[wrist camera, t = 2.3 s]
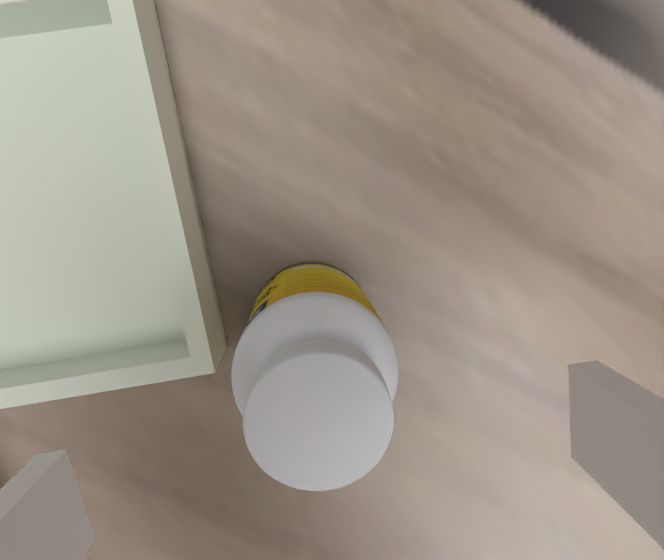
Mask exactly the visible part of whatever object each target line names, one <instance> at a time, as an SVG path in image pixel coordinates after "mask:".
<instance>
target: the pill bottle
mask: <svg viewBox="0 0 664 560" xmlns="http://www.w3.org/2000/svg"><path fill="white" fill-rule="evenodd" d="M398 376H399V367H398V359H397V354H396V350H395V347H394V344H393V342H392V339H391V337H390V335H389V333H388V331H387V330H386V328H385V326H384V325H383V323H382V321H381V320H380V318H379V316H378V315H377V313H376V311H375V310H374V308H373V307H372V305H371V303H370V302H369V300H368V299H367V297H366V296H365V294H364V293H363V291H362V290H361V288H360V286H359V285H358V284H357V283H356V282H355V281H354V279H353V278H351V277H350V276H349V275H348V274H346V273H345V272H343V271H342V270H340V269H338V268H336V267H334V266H331V265H328V264H324V263H316V262H308V263H300V264H296V265H293V266H290V267H288V268H285V269H283V270H282V271H280V272H279V273H277V274H276V275H275V276H274V277H272V278H271V279H270V280H269V281H268V282H267V283H266V284H265V286H264V287H263V289H262V290H261V291H260V293H259V295H258V297H257V300H256V302H255V305H254V307H253V309H252V312H251V314H250V317H249V319H248V321H247V324H246V326H245V328H244V330H243V332H242V335H241V337H240V339H239V342H238V344H237V347H236V350H235V353H234V357H233V362H232V369H231V382H232V390H233V395H234V398H235V401H236V404H237V407H238V409H239V411H240V413H241V415H242V416H243V433H244V438H245V442H246V445H247V448H248V450H249V452H250V454H251V456H252V457H253V459H254V460H255V462H256V463H257V464H258V465H259V467H260V468H261V469H262V470H263V471H264V472H266V473H267V474H268V475H269V476H271V477H272V478H273V479H275V480H277V481H278V482H280V483H282V484H285V485H287V486H290V487H293V488H296V489H300V490H307V491H325V490H332V489H336V488H340V487H343V486H346V485H348V484H351V483H353V482H355V481H356V480H358V479H360V478H361V477H363V476H364V475H366V474H367V473H368V472H369V471H371V470H372V469H373V468H374V467H375V465H376V464H377V463H378V462H379V461H380V459H381V458H382V457H383V455H384V454H385V452H386V450H387V448H388V446H389V444H390V440H391V437H392V433H393V429H394V409H393V404H392V403H393V400H394V397H395V394H396V390H397V386H398Z"/></svg>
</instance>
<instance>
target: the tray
mask: <svg viewBox="0 0 664 560" xmlns="http://www.w3.org/2000/svg"><path fill="white" fill-rule="evenodd" d="M227 348H228V346H227V341H226V336H225V332H224V327H223V322H222V318H221V313H220V308H219V303H218V299H217V294H216V289H215V285H214V280H213V275H212V270H211V266H210V261H209V256H208V252H207V247H206V242H205V237H204V233H203V228H202V223H201V219H200V214H199V209H198V204H197V200H196V195H195V190H194V186H193V181H192V176H191V171H190V167H189V162H188V157H187V153H186V148H185V143H184V138H183V134H182V129H181V124H180V120H179V115H178V110H177V105H176V101H175V96H174V91H173V87H172V82H171V77H170V72H169V68H168V63H167V58H166V54H165V49H164V44H163V39H162V35H161V30H160V25H159V21H158V16H157V11H156V6H155V2H154V0H0V409H4V408H10V407H16V406H22V405H28V404H34V403H40V402H46V401H52V400H58V399H63V398H69V397H75V396H81V395H87V394H93V393H99V392H105V391H111V390H117V389H123V388H129V387H135V386H141V385H147V384H153V383H159V382H165V381H171V380H177V379H183V378H189V377H194V376H200V375H206V374H212V373H215V372H216V370H217V368H218V366H219V364H220V362H221V360H222V358H223V356H224V354H225V352H226V350H227Z"/></svg>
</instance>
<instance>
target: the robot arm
mask: <svg viewBox="0 0 664 560" xmlns="http://www.w3.org/2000/svg"><path fill="white" fill-rule="evenodd" d="M568 369H569V401H570V434H571V457H572V458H573V459H574V460H575V461H576V462H577V463H578V464H579V465H580V466H581V467H582V468H583V469H584V470H585V471H586V472H587V473H588V474H589V475H590V476H591V477H592V478H593V479H594V480H595V481H596V482H597V483H598V484H599V485H600V486H601V487H602V488H603V489H604V490H605V491H606V492H607V493H608V494H609V495H610V496H611V497H612V498H613V499H614V500H615V501H616V502H617V503H618V504H619V505H620V506H621V507H622V508H623V509H624V510H625V511H626V512H627V513H628V514H629V515H630V516H631V517H632V518H633V519H634V520H635V521H636V522H637V523H638V524H639V525H640V526H641V527H642V528H643V529H644V530H645V531H646V532H647V533H648V534H649V535H650V536H651V537H652V538H653V539H654V540H655V541H656V542H657V543H658V544H659V545H660V546H661V547H662V548H663V549H664V399H663V398H661V397H659V396H658V395H656V394H654V393H652V392H651V391H649V390H647V389H645V388H644V387H642V386H640V385H639V384H637V383H635V382H633V381H632V380H630V379H628V378H626V377H625V376H623V375H621V374H619V373H618V372H616V371H614V370H613V369H611V368H609V367H607V366H606V365H604V364H602V363H600V362H599V361H597V360H595V361H589V362H583V363H577V364H571V365H568ZM94 542H95V537H94V534H93V531H92V528H91V525H90V521H89V518H88V515H87V512H86V509H85V506H84V503H83V499H82V496H81V493H80V490H79V487H78V484H77V481H76V477H75V474H74V471H73V468H72V465H71V462H70V459H69V455H68V452H67V449H65V450H59V451H53V452H47V453H41V454H36V455H35V456H34V457H33V458H32V459H31V460H30V461H29V462H28V463H27V464H26V465H25V466H24V467H23V468H22V469H21V470H20V471H18V472H17V473H16V474H15V475H14V476H13V477H12V478H11V479H10V480H9V481H8V482H7V483H6V484H5V485H4V486H3V487H2V488H1V489H0V560H84V558H85V556H86V555H87V553H88V551H89V550H90V548H91V547H92V545H93V543H94Z"/></svg>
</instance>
